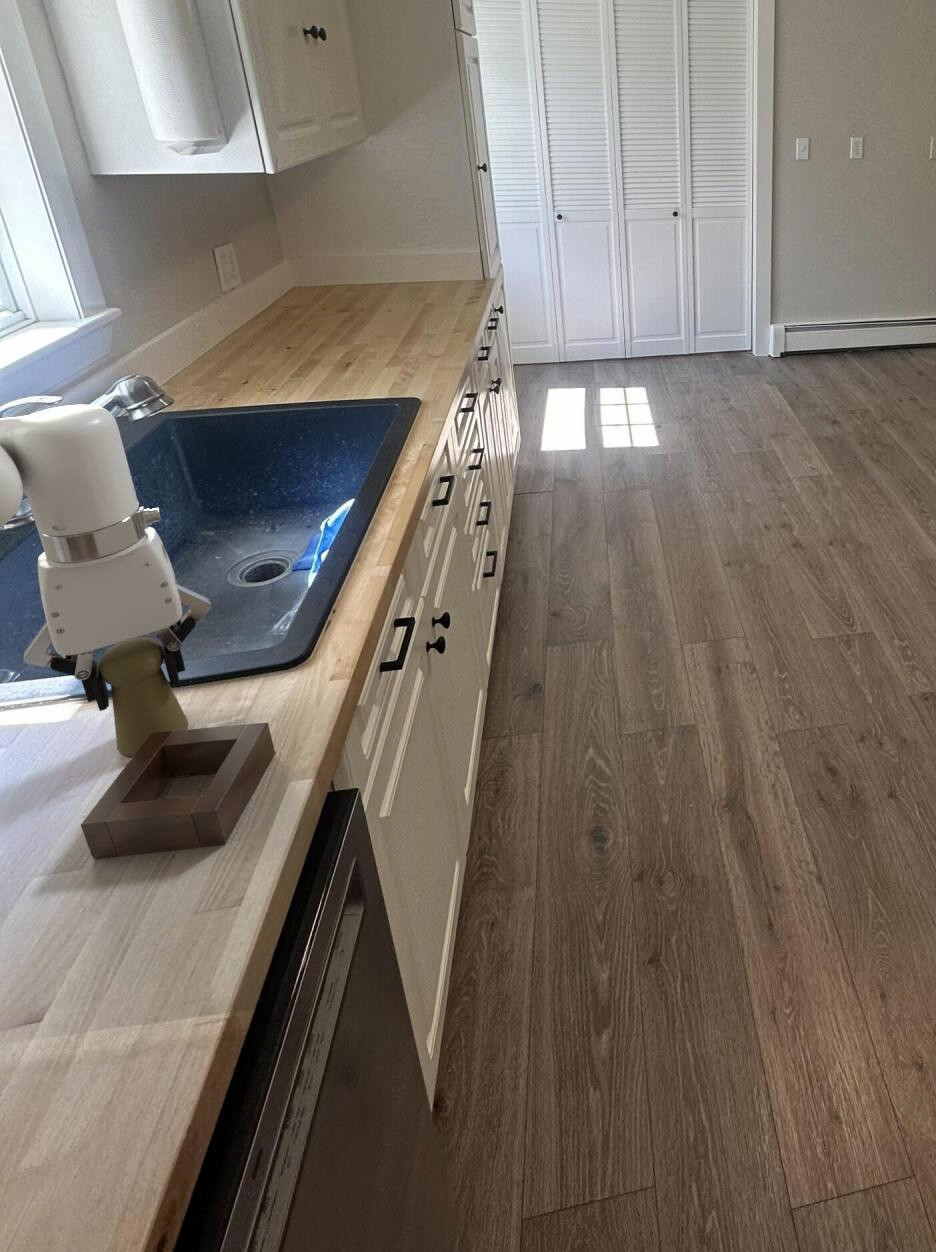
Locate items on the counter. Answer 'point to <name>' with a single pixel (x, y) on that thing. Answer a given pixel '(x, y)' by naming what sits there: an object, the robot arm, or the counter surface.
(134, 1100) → the counter surface
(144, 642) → the cork
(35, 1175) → the counter surface
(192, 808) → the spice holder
